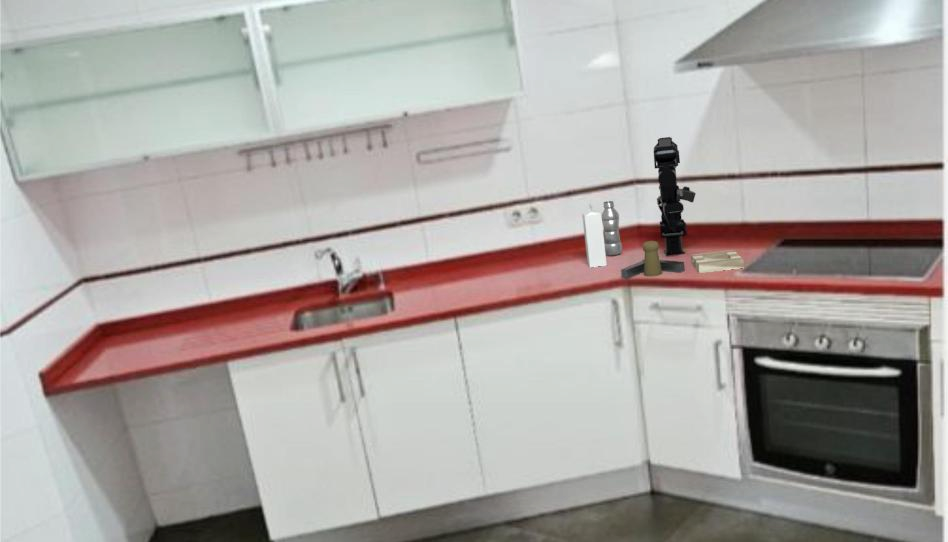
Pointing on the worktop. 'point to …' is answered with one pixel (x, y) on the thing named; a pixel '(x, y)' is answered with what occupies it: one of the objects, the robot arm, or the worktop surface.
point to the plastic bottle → (611, 229)
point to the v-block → (665, 264)
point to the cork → (651, 259)
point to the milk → (594, 238)
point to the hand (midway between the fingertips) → (671, 228)
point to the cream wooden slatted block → (717, 261)
